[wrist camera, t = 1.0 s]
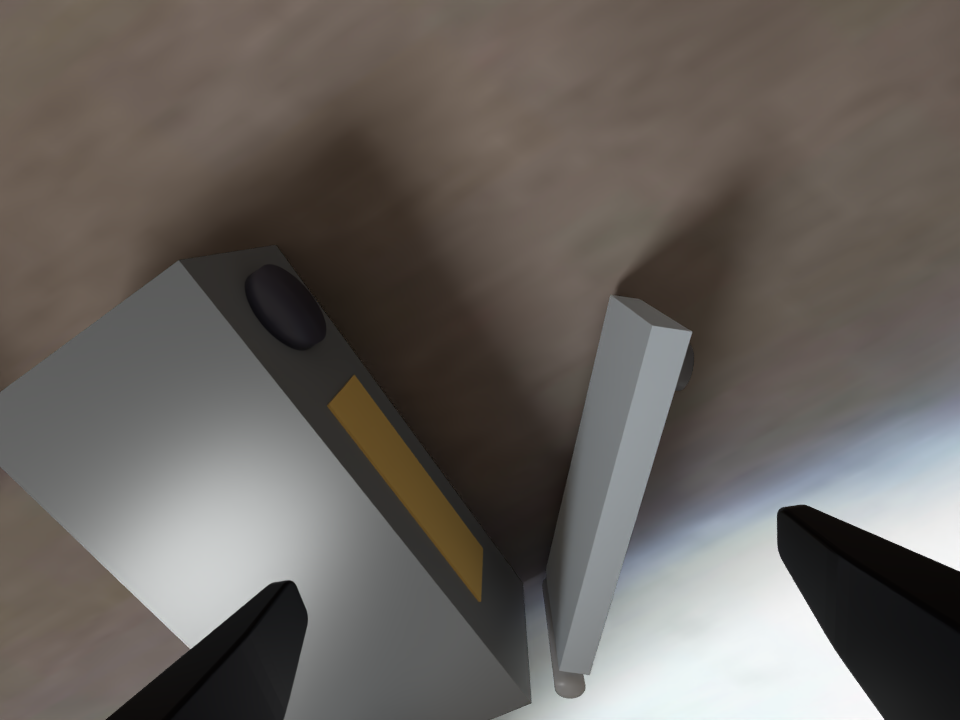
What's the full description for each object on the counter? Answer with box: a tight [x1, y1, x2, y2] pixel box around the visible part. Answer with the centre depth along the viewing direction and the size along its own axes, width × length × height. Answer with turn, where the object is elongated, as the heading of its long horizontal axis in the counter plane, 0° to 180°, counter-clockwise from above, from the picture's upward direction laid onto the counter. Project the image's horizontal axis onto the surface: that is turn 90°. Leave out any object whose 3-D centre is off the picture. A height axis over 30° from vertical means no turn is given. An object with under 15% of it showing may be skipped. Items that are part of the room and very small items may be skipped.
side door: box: [542, 295, 694, 698], centre depth 18 cm, size 15×2×5 cm, turn 172°
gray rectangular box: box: [0, 245, 532, 720], centre depth 19 cm, size 20×11×6 cm, turn 32°
